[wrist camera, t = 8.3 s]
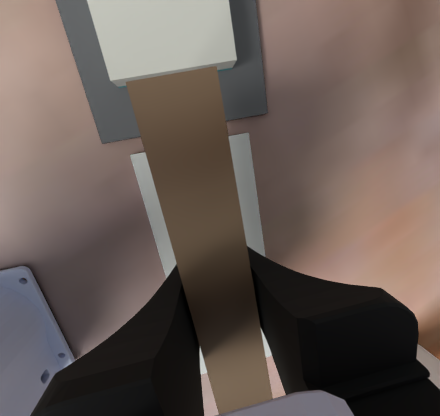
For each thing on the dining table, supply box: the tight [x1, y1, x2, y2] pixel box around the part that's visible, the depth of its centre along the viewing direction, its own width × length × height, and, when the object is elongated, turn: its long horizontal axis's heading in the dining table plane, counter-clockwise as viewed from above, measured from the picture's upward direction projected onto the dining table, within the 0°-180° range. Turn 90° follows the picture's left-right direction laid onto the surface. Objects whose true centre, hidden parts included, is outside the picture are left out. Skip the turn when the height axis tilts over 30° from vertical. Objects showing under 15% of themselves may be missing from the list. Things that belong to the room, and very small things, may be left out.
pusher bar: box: [126, 66, 273, 414], centre depth 11 cm, size 16×2×5 cm, turn 11°
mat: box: [56, 0, 268, 144], centre depth 13 cm, size 11×11×1 cm
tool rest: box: [130, 133, 272, 374], centre depth 18 cm, size 20×8×1 cm, turn 10°
